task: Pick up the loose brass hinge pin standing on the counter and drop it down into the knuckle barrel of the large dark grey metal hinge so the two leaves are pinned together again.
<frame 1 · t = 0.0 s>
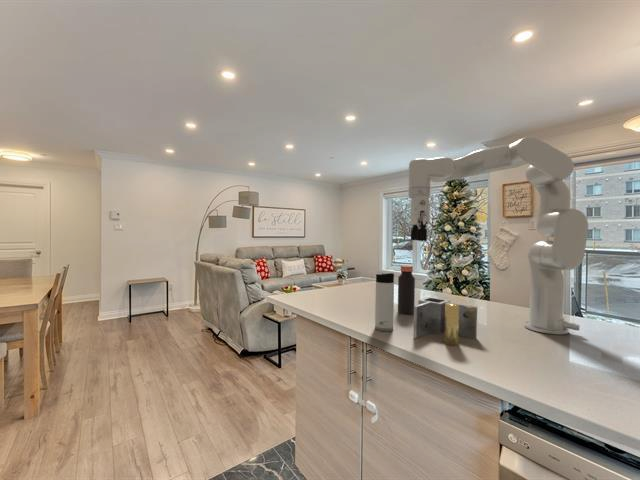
hand: (418, 240, 111), 31 cm above the worktop, tool pointing down, fingers open, 9 cm apart
hinge pin: (451, 343, 93), on the worktop
hinge: (433, 328, 108), on the worktop
travel mug: (384, 329, 107), on the worktop
bottle: (405, 313, 129), on the worktop
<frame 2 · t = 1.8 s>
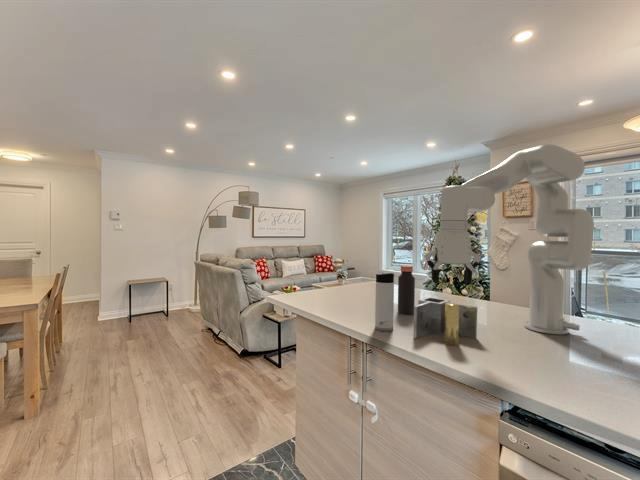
hand: (451, 283, 93), 19 cm above the worktop, tool pointing down, fingers open, 9 cm apart
nothing on the worktop moved.
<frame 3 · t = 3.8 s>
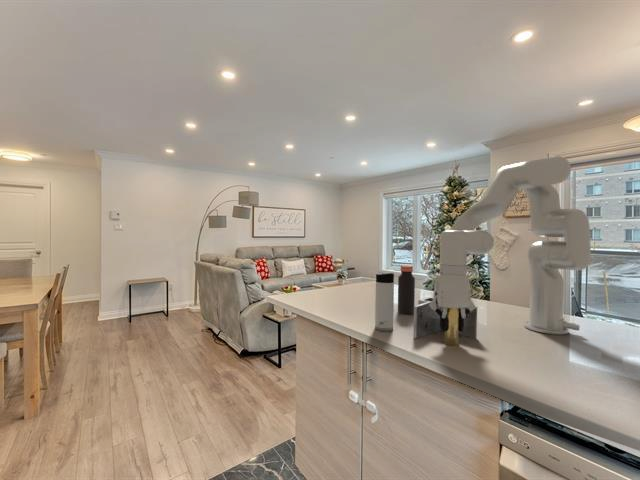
hand: (451, 329, 93), 4 cm above the worktop, tool pointing down, fingers closed on hinge pin, 4 cm apart
hinge pin: (451, 343, 93), on the worktop, touching gripper
everything else where it was.
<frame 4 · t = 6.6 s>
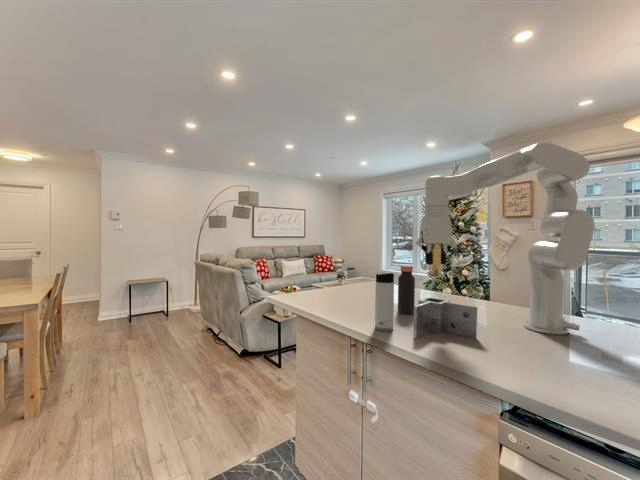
hand: (435, 263, 107), 23 cm above the worktop, tool pointing down, fingers closed on hinge pin, 4 cm apart
hinge pin: (435, 276, 107), point 19 cm above the worktop, touching gripper
everything else where it was.
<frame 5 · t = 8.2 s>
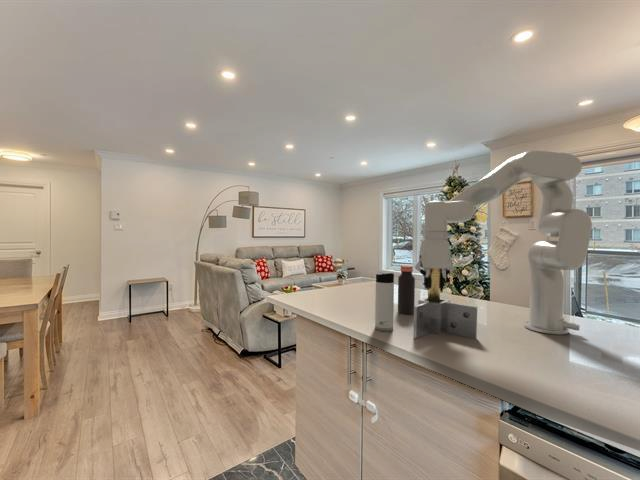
hand: (434, 287, 107), 15 cm above the worktop, tool pointing down, fingers closed on hinge pin, 4 cm apart
hinge pin: (433, 300, 107), point 10 cm above the worktop, touching gripper
everything else where it was.
when the fingers open (11 cm above the worktop, at t = 9.6 s): hinge pin drops 7 cm, resting in hinge.
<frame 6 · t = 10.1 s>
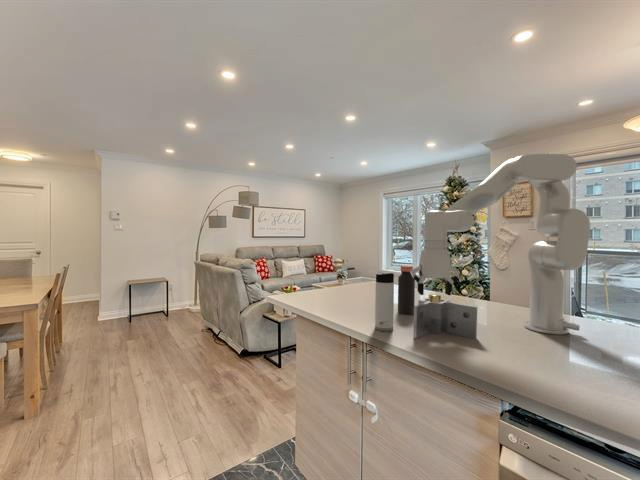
hand: (434, 294, 107), 12 cm above the worktop, tool pointing down, fingers open, 9 cm apart
hinge pin: (433, 328, 108), resting in hinge
everything else where it was.
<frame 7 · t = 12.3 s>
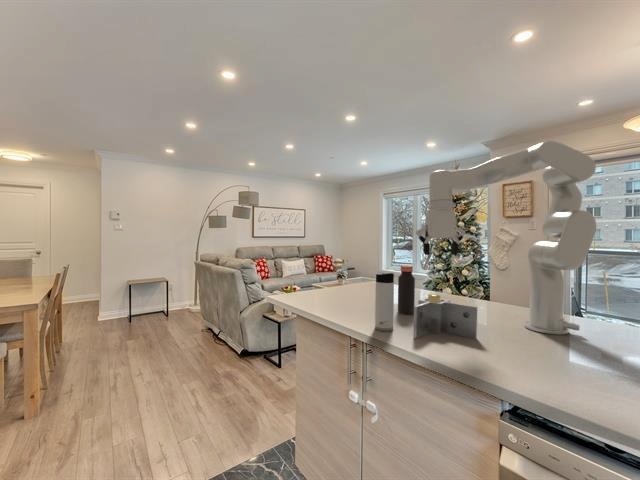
hand: (440, 254, 108), 26 cm above the worktop, tool pointing down, fingers open, 9 cm apart
nothing on the worktop moved.
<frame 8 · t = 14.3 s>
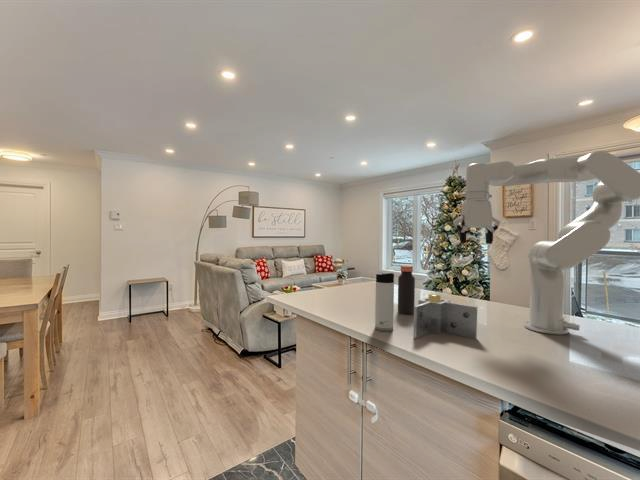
hand: (476, 243, 113), 30 cm above the worktop, tool pointing down, fingers open, 9 cm apart
nothing on the worktop moved.
at the end: hinge pin 0.0 cm from the hinge (horizontally); hinge pin resting in hinge; hinge pin tilted 0° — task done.
